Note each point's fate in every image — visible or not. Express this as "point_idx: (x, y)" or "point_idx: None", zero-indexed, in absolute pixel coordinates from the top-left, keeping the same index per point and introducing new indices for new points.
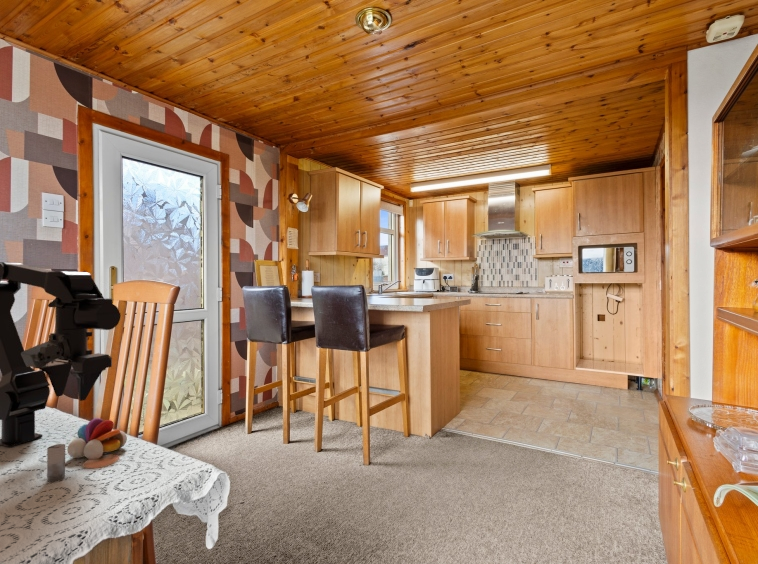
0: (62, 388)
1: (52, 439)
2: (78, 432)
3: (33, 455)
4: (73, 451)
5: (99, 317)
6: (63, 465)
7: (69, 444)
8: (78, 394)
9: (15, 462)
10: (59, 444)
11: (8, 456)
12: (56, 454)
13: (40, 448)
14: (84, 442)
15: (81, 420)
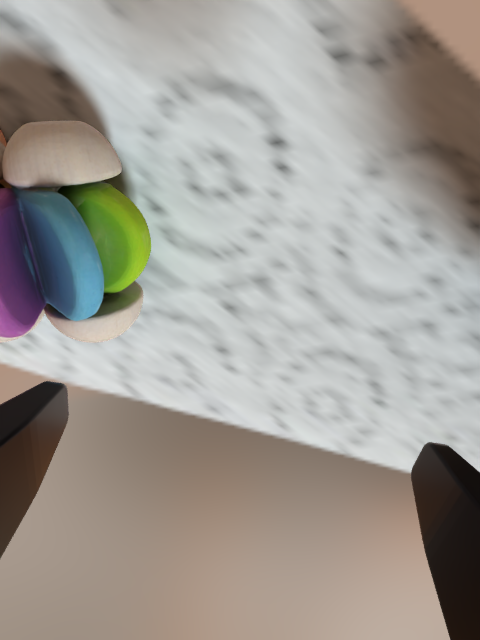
0: (439, 541)
1: (425, 312)
2: (56, 206)
3: (345, 135)
4: (40, 121)
5: None
6: None
7: (71, 136)
8: (18, 419)
9: (361, 30)
10: None
11: (476, 90)
12: None
13: (389, 215)
14: (3, 173)
15: None
